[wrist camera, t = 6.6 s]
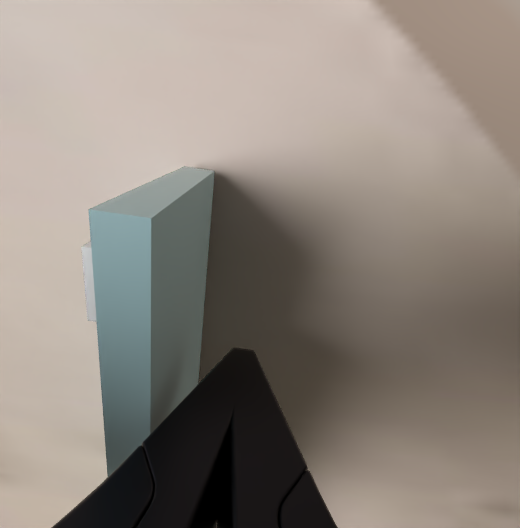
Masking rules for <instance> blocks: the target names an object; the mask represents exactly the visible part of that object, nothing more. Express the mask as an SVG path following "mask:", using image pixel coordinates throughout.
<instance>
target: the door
mask: <svg viewBox="0 0 520 528" xmlns="http://www.w3.org/2000/svg"><path fill="white" fill-rule="evenodd" d="M214 173H215V171H213V170H206V169H199V168H192V167H185V166H184V167H182V168H180V169H178V170H175V171H173V172H171V173H169V174H166V175H164V176H162V177H160V178H157V179H155V180H153V181H151V182H149V183H146V184H144V185H142V186H140V187H137V188H135V189H133V190H131V191H129V192H126V193H124V194H122V195H120V196H117V197H115V198H113V199H111V200H108V201H106V202H104V203H102V204H100V205H97V206H95V207H93V208H91V209H89V222H90V236H91V241H90V242H88V243H86V244H85V245H83V246H82V259H83V271H84V283H85V295H86V307H87V319H88V321H95V322H97V333H98V347H99V361H100V375H101V389H102V403H103V417H104V431H105V445H106V459H107V473H108V477H109V476H110V475H111V474H112V473H113V472H114V471H115V470H116V469H117V468H118V467H119V466H120V465H121V464H122V463H123V462H124V461H125V460H126V459H127V458H128V457H129V456H130V455H131V454H132V452H133V451H134V450H135V449H136V448H137V447H138V446H142V442H143V441H144V440H145V439H146V438H147V437H148V436H149V435H150V434H151V433H152V432H153V431H154V430H155V429H156V428H157V427H158V426H159V425H160V424H161V423H162V421H163V420H164V419H165V418H166V417H167V416H168V415H169V414H170V413H171V412H172V411H173V410H174V409H175V408H176V407H177V406H178V405H179V404H180V403H181V402H182V401H183V400H184V399H185V398H186V396H187V395H188V394H189V393H190V392H191V391H192V390H193V389H194V388H195V387H196V386H197V385H198V380H199V367H200V354H201V341H202V328H203V315H204V302H205V290H206V277H207V264H208V251H209V238H210V225H211V212H212V199H213V186H214Z"/></svg>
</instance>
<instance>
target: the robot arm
mask: <svg viewBox="0 0 520 528" xmlns="http://www.w3.org/2000/svg"><path fill="white" fill-rule="evenodd" d="M307 469H308V467H307V465H306V462H305V460H304V458H303V456H302V454H301V452H300V449H299V447H298V445H297V443H296V441H295V439H294V436H293V434H292V432H291V430H290V428H289V426H288V423H287V421H286V419H285V417H284V415H283V413H282V410H281V408H280V406H279V404H278V402H277V400H276V397H275V395H274V393H273V391H272V389H271V387H270V384H269V382H268V380H267V378H266V376H265V374H264V371H263V369H262V367H261V365H260V363H259V361H258V358H257V356H256V354H255V352H254V351H253V350H248V349H241V348H233V349H232V350H231V351H230V352H229V353H228V354H227V355H226V356H225V357H224V358H223V359H222V360H221V361H220V362H219V363H218V364H217V365H216V366H215V367H214V368H213V369H212V370H211V371H210V373H209V374H208V375H207V376H206V377H205V378H204V379H203V380H202V381H201V382H200V383H199V384H198V385H197V386H196V387H195V388H194V389H193V390H192V391H191V392H190V393H189V394H188V395H187V396H186V398H185V399H184V400H183V401H182V402H181V403H180V404H179V405H178V406H177V407H176V408H175V409H174V410H173V411H172V412H171V413H170V414H169V415H168V416H167V417H166V418H165V419H164V420H163V421H162V423H161V424H160V425H159V426H158V427H157V428H156V429H155V430H154V431H153V432H152V433H151V434H150V435H149V436H148V437H147V438H146V439H145V440H144V441H143V442H142V446H138V447H137V448H136V449H135V450H134V451H133V452H132V454H131V455H130V456H129V457H128V458H127V459H126V460H125V461H124V462H123V463H122V464H121V465H120V466H119V467H118V468H117V469H116V470H115V471H114V472H113V473H112V474H111V475H110V476H109V477H108V478H107V479H106V480H105V481H104V482H103V483H102V484H101V485H100V486H98V487H97V488H96V489H95V490H94V491H93V492H92V493H91V494H89V495H88V496H87V497H86V498H85V499H84V500H83V501H82V502H80V503H79V504H78V505H77V506H76V507H75V508H74V509H73V510H71V511H70V512H69V513H68V514H67V515H66V516H65V517H63V518H62V519H61V520H60V521H59V522H58V523H56V524H55V525H54V526H53V527H52V528H215V527H216V523H217V528H338V527H337V526H336V524H335V522H334V520H333V518H332V516H331V514H330V512H329V510H328V508H327V506H326V504H325V502H324V500H323V498H322V496H321V494H320V492H319V490H318V488H317V486H316V484H315V482H314V479H313V477H312V475H311V473H310V471H309V470H307Z"/></svg>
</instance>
